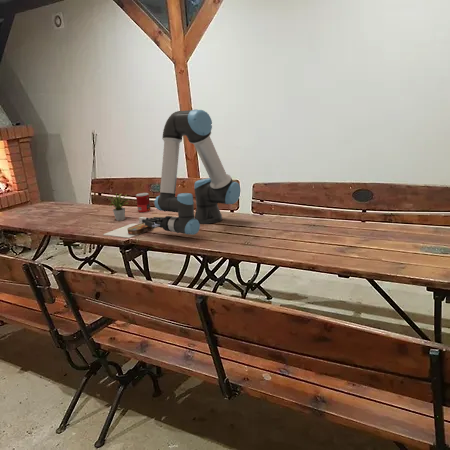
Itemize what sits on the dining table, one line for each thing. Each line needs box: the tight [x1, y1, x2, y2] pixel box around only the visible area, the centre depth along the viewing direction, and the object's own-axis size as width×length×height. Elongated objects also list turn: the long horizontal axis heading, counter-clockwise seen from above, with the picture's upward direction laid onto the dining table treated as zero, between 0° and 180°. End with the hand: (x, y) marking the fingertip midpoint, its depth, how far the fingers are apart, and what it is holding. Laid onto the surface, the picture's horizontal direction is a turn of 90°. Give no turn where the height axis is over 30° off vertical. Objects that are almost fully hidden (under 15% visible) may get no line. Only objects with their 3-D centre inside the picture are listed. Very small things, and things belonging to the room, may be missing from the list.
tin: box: [127, 223, 154, 236], centre depth 240 cm, size 15×3×8 cm
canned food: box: [135, 192, 152, 213], centre depth 287 cm, size 8×8×11 cm
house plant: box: [107, 192, 131, 221], centre depth 269 cm, size 14×14×16 cm
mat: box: [102, 223, 157, 239], centre depth 244 cm, size 19×22×1 cm
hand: (140, 219), depth 239 cm, fingers closed
